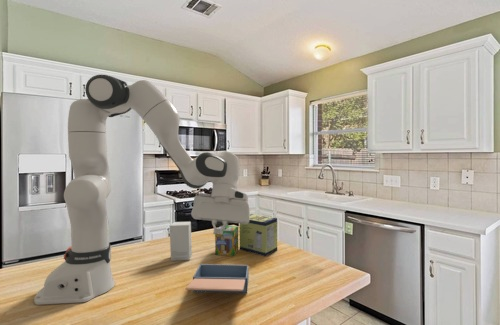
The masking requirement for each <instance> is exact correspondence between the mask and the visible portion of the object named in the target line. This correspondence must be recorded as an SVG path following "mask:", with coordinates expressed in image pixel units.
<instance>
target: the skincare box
mask: <svg viewBox="0 0 500 325" xmlns="http://www.w3.org/2000/svg"><path fill="white" fill-rule="evenodd" d="M169 238H170V239H169V240H170V242H169V244H170V246H169V247H170V261H172V262H175V261H190V259H191V257H192V256H193V250H192V247H193V246H192V222H191V221H174V222H172V223H171V224H170V225H169Z"/></svg>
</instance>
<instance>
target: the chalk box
mask: <svg viewBox="0 0 500 325" xmlns="http://www.w3.org/2000/svg"><path fill="white" fill-rule="evenodd" d="M228 223H229V222H227V226H226V227H225V229H224V230H223V234H222V235H218V234H214V242H215V244H214V245H215V246H214V247H215V249H214V250H215V254H214V255H216V256H228V257H229V256H230V257H232V256H233V257H235V256H236V254H237V253H238V251H239V226H235V225H234V226H233V225H229V224H228ZM222 226H223V225H220V226H219V227H217V228H218V229H221V227H222Z"/></svg>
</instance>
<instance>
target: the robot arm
mask: <svg viewBox="0 0 500 325" xmlns="http://www.w3.org/2000/svg"><path fill="white" fill-rule="evenodd" d="M85 95H86V97H87V98H80V99H77V100H74V101H73V102H71V104H70V106H69V110H68V118H67V142H68V144H67V146H68V147H67V148H68V158H69V160H70V163H71V167H72V172H73V176H74V178H73V179H72V180H70V182H68V183H67V185H66V187H65V189H64V192H63V200H64V202H65V204H66V209H67V214H68V218H69V219H68V220H69V223H70V231H71V232H70V234H71V236H70V237H71V240H70V241H71V246H69V247H68V248H67V249H66V251H65V252H64V255H63V260H64V262H62V263H61V264H60V265H59V266H57V267H56V268H54V270H52V271H51V272H50V273H49V274H48V275H47V277H46V278H45V280H44V283H43V287H42V288H41V289H40V290H39V291H38V292H37V293H36V294H35V296H34V299H33V300H34V301H33V303H34V304H35V305H37V306H38V305H41V306H42V305H57V304H59V305H60V304H73V303H74V304H75V303H85V302H88V301H91V300H92V299H94V298H96V297H98V296H100V295H103V294H105V293H107V292H109V291H110V290H111V289H113V288H114V287H115V284H116V283H115V280H114V276H113V273H112V267H111V261H112V260H111V259H112V248H111V243H110V233H109V232H110V229H109V228H110V225H109V219H108V212H107V202H106V199H107V198H108V197H109V196H110V194H111V190H112V186H111V176H110V166H109V161H108V153H107V152H108V151H107V150H108V149H107V130H106V129H107V126H106V123H107V119H108V118H113V117H117V116H120V115H124V114H127V113H128V112H130V111H131V110H133V111H135V112H136V113H137V114H138V116H140V117H141V119H142V120H143V121H144V122H145V124H146V125H147V127H149V129H150V130H151V131H152V132H153V134H154V136H156V139H157V140H158V142H159V144H160V146H161V147H162V149H163V150H164V151H165V152H166V154H167V155H168V156H169V158H170V159H171V160H172V162H173V163H174V165H175V166H176V167H177V169H178V171H179V173H180V176H181V178H182V181H183V182H184V183H185V185H186V186H187V187H189V188H191V189H196V190H197V189H201V188H203V187H204V186H205V185H206V184H208V183H209V182H210V183H212V190H211V193H199V194H196V195H195V196H194V199H193V206H192V210H191V212H190V213H191V214H190V215H191V217H192V218H193V220H199V221H200V220H201V221H210V222H211V225H212V226H213V235H215V234H218V235H222V234H223V230H224V229H225V227H226V226H227V223H231V224H232V223H233V224H240V223H241V224H247V223H248V222H249V220H250V215H251V214H250V213H251V212H250V206H249V197H248V194H247V193H245V192H243V191H240V190H238V186H237V183H238V181H239V176H240V160H239V158H238V156H237V155H235V154H234V153H232V152H229V151H223V152H218V153H211V152H207V151H206V152H202V153H199V155H198V156H196V157H195V158H194V159H193V158H192V157H191V155H190V154H189V153H188V151H187V150H186V148H185V146H183V145H182V142H181V141H180V137H179V127H180V118H181V117H180V115H179V114H180V113H178V111H177V109H176V107H175V105H174V104H173V103H172V102H171V101H170V100H169V99H168V98H167V96H166V95H165V94H164V93H163V92H162V91H161V90H160V89H159V88H157V87H156V86H155V85H154V84H153V83H152V82H150V81H149V80H147V79H141V80H137V81H135V82H133V83H132V84H131V85H128V82H126V81H124V80H121V79H119V78H116V77H114V76H111V75H107V74H96V75H93V76H92V77H90V78H88V80H87V82H86V84H85ZM218 222H219V223H220V222H221V223H222V225H221V226H222V227H221V229H218V227H216V225H217V223H218Z"/></svg>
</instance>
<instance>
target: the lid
mask: <svg viewBox="0 0 500 325" xmlns="http://www.w3.org/2000/svg"><path fill="white" fill-rule="evenodd" d="M244 284H245V280H244V279H193V278H192V281H191V282H189V284H188V285H186V287H185V290H188V291H193V290H225V291H243V289H244Z"/></svg>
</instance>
